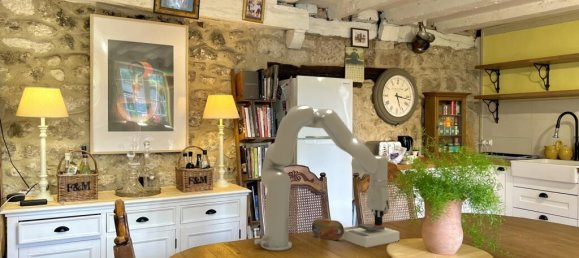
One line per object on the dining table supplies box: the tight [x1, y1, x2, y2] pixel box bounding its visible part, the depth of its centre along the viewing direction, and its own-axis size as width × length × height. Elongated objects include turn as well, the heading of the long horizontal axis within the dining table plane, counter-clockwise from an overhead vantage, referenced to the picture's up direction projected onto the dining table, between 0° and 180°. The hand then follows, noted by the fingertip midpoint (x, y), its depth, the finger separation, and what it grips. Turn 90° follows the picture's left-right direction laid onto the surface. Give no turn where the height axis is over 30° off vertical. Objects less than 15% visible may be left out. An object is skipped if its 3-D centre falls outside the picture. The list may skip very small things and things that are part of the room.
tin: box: [311, 218, 345, 241], centre depth 190 cm, size 15×3×8 cm, turn 57°
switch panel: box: [343, 227, 400, 248], centre depth 188 cm, size 20×14×5 cm
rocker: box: [358, 223, 386, 230], centre depth 188 cm, size 10×6×1 cm, turn 124°
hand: (378, 224), depth 190 cm, fingers closed
